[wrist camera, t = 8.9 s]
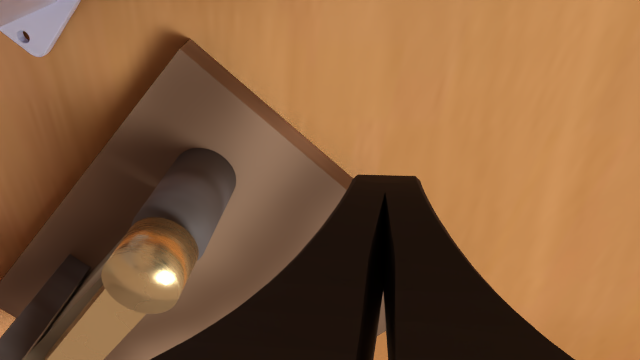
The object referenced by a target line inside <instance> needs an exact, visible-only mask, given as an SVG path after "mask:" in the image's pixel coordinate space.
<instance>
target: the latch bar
mask: <svg viewBox="0 0 640 360" xmlns="http://www.w3.org/2000/svg"><path fill="white" fill-rule="evenodd" d="M198 255H199V250H198V246H197V243H196V241H195V239H194V238H193V236H192V235H191V234H190V233H189V231H187V230H186V229H185V228H184V227H183V226H181V225H180V224H178V223H176V222H174V221H172V220H169V219H165V218H161V217H148V218H143V219H141V220H139V221H137V222H136V223H134V224H133V225H132V227H131V228H130V229H129V231H128V232H127V234H126V235H125V236H124V238H123V239H122V241H121V242H120V244H119V245H118V246H117V248H116V249H115V251H114V252H113V253H112V255H111V256H110V258H109V259H108V260H107V262H106V263H105V265H104V266H103V269H102V273H101V278H102V282H103V285H102V286H101V288H100V289H99V290H98V291H97V293H96V294H95V295H94V296H93V297H92V299H91V300H90V301H89V302H88V304H87V305H86V306H85V307H84V309H83V310H82V311H81V312H80V313H79V315H78V316H77V317H76V318H75V320H74V321H73V322H72V323H71V325H70V326H69V327H68V328H67V329H66V331H65V332H64V333H63V334H62V336H61V337H60V338H59V339H58V341H57V342H56V343H55V344H54V345H53V347H52V348H51V349H50V350H49V352H48V353H47V354H46V355H45V357H44V358H43V359H42V360H104V358H105V357H106V356H107V355H108V354H109V353H110V352H111V351H112V350H113V349H114V348H115V347H116V346H117V345H118V344H119V343H120V341H121V340H122V339H123V338H124V337H125V336H126V335H127V334H128V333H129V332H130V331H131V330H132V329H133V328H134V327H135V325H136V324H137V323H138V322H139V321H140V320H141V319H142V318H143V317H144V316H145V315H146V314H158V313H162V312H165V311H168V310H170V309H171V308H172V307H173V306H174V305H175V304H176V303H177V301H178V299H179V297H180V295H181V292H182V290H183V288H184V286H185V284H186V282H187V280H188V278H189V276H190V274H191V272H192V270H193V268H194V266H195V264H196V262H197V259H198Z"/></svg>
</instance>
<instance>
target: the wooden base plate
mask: <svg viewBox="0 0 640 360" xmlns="http://www.w3.org/2000/svg"><path fill="white" fill-rule="evenodd" d="M352 179H353V178H352V177H350V176H349V175H348V174H347V173H346V172H345V171H343V170H342V169H341V168H340V167H339V166H338V165H336V164H335V163H334V162H333V161H332V160H331V159H329V158H328V157H327V156H326V155H325V154H324V153H322V152H321V151H320V150H319V149H318V148H317V147H315V146H314V145H313V144H312V143H311V142H310V141H308V140H307V139H306V138H305V137H304V136H303V135H301V134H300V133H299V132H298V131H297V130H296V129H294V128H293V127H292V126H291V125H290V124H289V123H287V122H286V121H285V120H284V119H283V118H282V117H280V116H279V115H278V114H277V113H276V112H275V111H273V110H272V109H271V108H270V107H269V106H268V105H266V104H265V103H264V102H263V101H262V100H261V99H259V98H258V97H257V96H256V95H255V94H254V93H252V92H251V91H250V90H249V89H248V88H247V87H246V86H244V85H243V84H242V83H241V82H240V81H239V80H237V79H236V78H235V77H234V76H233V75H232V74H230V73H229V72H228V71H227V70H226V69H225V68H223V67H222V66H221V65H220V64H219V63H218V62H216V61H215V60H214V59H213V58H212V57H211V56H209V55H208V54H207V53H206V52H205V51H204V50H202V49H201V48H200V47H199V46H198V45H197V44H195V43H194V42H193V41H192V40H191V39H190V40H189V41H188V42H187V43H186V44H184V45H183V46H182V47H181V48H180V49H179V50H178V52H177V53H176V54H175V56H174V57H173V58H172V60H171V61H170V62H169V63H168V65H167V66H166V67H165V69H164V70H163V71H162V72H161V74H160V75H159V76H158V78H157V79H156V80H155V82H154V83H153V84H152V85H151V87H150V88H149V89H148V91H147V92H146V93H145V95H144V96H143V97H142V98H141V100H140V101H139V102H138V104H137V105H136V106H135V108H134V109H133V110H132V111H131V113H130V114H129V115H128V117H127V118H126V119H125V121H124V122H123V123H122V124H121V126H120V127H119V128H118V130H117V131H116V132H115V134H114V135H113V136H112V137H111V139H110V140H109V141H108V143H107V144H106V145H105V147H104V148H103V149H102V150H101V152H100V153H99V154H98V156H97V157H96V158H95V160H94V161H93V162H92V163H91V165H90V166H89V167H88V169H87V170H86V171H85V172H84V174H83V175H82V176H81V178H80V179H79V180H78V182H77V183H76V184H75V185H74V187H73V188H72V189H71V191H70V192H69V193H68V195H67V196H66V197H65V198H64V200H63V201H62V202H61V204H60V205H59V206H58V208H57V209H56V210H55V211H54V213H53V214H52V215H51V217H50V218H49V219H48V221H47V222H46V223H45V224H44V226H43V227H42V228H41V230H40V231H39V232H38V234H37V235H36V236H35V237H34V239H33V240H32V241H31V243H30V244H29V245H28V247H27V248H26V249H25V250H24V252H23V253H22V254H21V256H20V257H19V258H18V260H17V261H16V262H15V263H14V265H13V266H12V267H11V269H10V270H9V271H8V273H7V274H6V275H5V276H4V278H3V279H2V280H1V282H0V308H1V309H2V310H4V311H5V312H7V313H9V314H10V315H12V316H14V317H15V318H16V319H15V321H14V322H13V323H12V324H11V326H10V327H9V328H8V329H7V330H6V332H5V333H4V334H3V335H2V337H1V338H0V360H42V359H43V358H44V357H45V355H46V354H47V353H48V352H49V350H50V349H51V348H52V347H53V345H54V344H55V343H56V342H57V341H58V339H59V338H60V337H61V336H62V334H63V333H64V332H65V331H66V329H67V328H68V327H69V326H70V325H71V323H72V322H73V321H74V320H75V318H76V317H77V316H78V315H79V313H80V312H81V311H82V310H83V309H84V307H85V306H86V305H87V304H88V302H89V301H90V300H91V299H92V297H93V296H94V295H95V294H96V293H97V291H98V290H99V289H100V288H101V286H102V285H103V282H102V278H101V273H102V269H103V266H104V265H105V263H106V262H107V260H108V259H109V258H110V256H111V255H112V253H113V252H114V251H115V249H116V248H117V246H118V245H119V244H120V242H121V241H122V239H123V238H124V236H125V235H126V234H127V232H128V231H129V229H130V228H131V227H132V225H133V224H134V223H136V222H137V221H139V220H141V219H143V218H148V217H161V218H165V219H169V220H172V221H174V222H176V223H178V224H180V225H181V226H183V227H184V228H185V229H186V230H187V231H189V233H190V234H191V235H192V236H193V238H194V239H195V241H196V243H197V246H198V250H199V255H198V259H197V262H196V264H195V266H194V268H193V270H192V272H191V274H190V276H189V278H188V280H187V282H186V284H185V286H184V288H183V290H182V292H181V295H180V297H179V299H178V301H177V303H176V304H175V305H174V306H173V307H172V308H171V309H170V310H168V311H165V312H162V313H158V314H146V315H145V316H144V317H143V318H142V319H141V320H140V321H139V322H138V323H137V324H136V325H135V327H134V328H133V329H132V330H131V331H130V332H129V333H128V334H127V335H126V336H125V337H124V338H123V339H122V340H121V341H120V343H119V344H118V345H117V346H116V347H115V348H114V349H113V350H112V351H111V352H110V353H109V354H108V355H107V356H106V357H105V358H104V360H150V359H152V358H154V357H156V356H158V355H159V354H161V353H163V352H165V351H167V350H169V349H171V348H173V347H175V346H176V345H178V344H180V343H182V342H184V341H186V340H188V339H189V338H191V337H193V336H194V335H196V334H198V333H199V332H201V331H203V330H204V329H206V328H207V327H209V326H211V325H212V324H214V323H215V322H217V321H218V320H220V319H221V318H223V317H224V316H226V315H227V314H229V313H230V312H232V311H233V310H235V309H236V308H237V307H239V306H240V305H241V304H243V303H244V302H245V301H247V300H248V299H249V298H250V297H252V296H253V295H254V294H255V293H257V292H258V291H259V290H260V289H261V288H263V287H264V286H265V285H266V284H267V283H269V282H270V281H271V280H272V279H273V278H274V277H275V276H276V275H277V274H278V273H280V272H281V271H282V270H283V269H284V268H285V267H286V266H287V265H288V264H289V263H290V262H291V261H292V260H293V259H294V258H295V257H296V256H297V255H298V254H299V253H300V252H301V250H302V249H303V248H304V247H305V246H306V245H307V243H308V242H309V241H310V240H311V239H312V238H313V236H314V235H315V234H316V233H317V232H318V231H319V229H320V228H321V227H322V226H323V224H324V223H325V222H326V220H327V219H328V217H329V216H330V215H331V213H332V212H333V211H334V209H335V208H336V206H337V205H338V203H339V202H340V200H341V199H342V197H343V196H344V194H345V192H346V191H347V189H348V187H349V185H350V184H351V181H352ZM385 331H386V321H385V307H384V293H383V296H382V303H381V310H380V317H379V324H378V331H377V336H378V335H380V334H381V333H383V332H385Z"/></svg>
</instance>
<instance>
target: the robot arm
mask: <svg viewBox="0 0 640 360" xmlns="http://www.w3.org/2000/svg"><path fill="white" fill-rule="evenodd" d="M80 1H81V0H0V31H1V32H2V33H4V34H5V35H6V36H8V37H9V38H10V39H12V40H13V41H14V42H15V43H17V44H18V45H19V46H21V47H22V48H23V49H25V50H26V51H27V52H28V53H30V54H31V55H33V56H36V57H42V56H45V55H46V54H48V53H49V52H50V51H51V49H52V47H53V46H54V44H55V43H56V41H57V39H58V38H59V36H60V34H61V33H62V31H63V29H64V28H65V26H66V24H67V23H68V21H69V19H70V18H71V16H72V14H73V13H74V11H75V10H76V8H77V6H78V5H79V3H80ZM23 31H25V32H26V33H27V34H28V35H29V37H30V40H28V39H26V38H25V36H24V34H23ZM383 293H384V307H385V321H386V335H387V348H388V360H575V359H573V358H572V357H571V356H569V355H568V354H567V353H565V352H564V351H563V350H561V349H560V348H558V347H557V346H556V345H554V344H553V343H552V342H551V341H549V340H548V339H547V338H546V337H544V336H543V335H542V334H541V333H540V332H539V331H537V330H536V329H535V328H534V327H533V326H532V325H530V324H529V323H528V322H527V321H526V320H525V319H524V318H522V317H521V316H520V315H519V314H518V313H517V312H516V311H514V310H513V309H512V308H511V307H510V306H509V305H508V304H507V303H506V302H505V301H504V300H503V299H502V298H501V297H500V296H499V295H498V294H497V293H496V292H495V291H494V290H493V289H492V287H491V286H490V285H489V284H488V283H487V282H486V281H485V280H484V279H483V278H482V277H481V275H480V274H479V273H478V272H477V271H476V270H475V268H474V267H473V266H472V265H471V263H470V262H469V261H468V260H467V258H466V257H465V256H464V254H463V253H462V252H461V251H460V249H459V248H458V247H457V245H456V244H455V242H454V241H453V239H452V238H451V237H450V235H449V234H448V232H447V230H446V229H445V227H444V226H443V224H442V223H441V221H440V220H439V218H438V216H437V215H436V213H435V211H434V210H433V208H432V206H431V204H430V202H429V200H428V198H427V196H426V194H425V192H424V190H423V188H422V185H421V182H420V180H419V179H418V178H417V177H416V176H387V175H357V176H356V177H355V178H353V179H352V181H351V184H350V185H349V187H348V189H347V191H346V192H345V194H344V196H343V197H342V199H341V200H340V202H339V203H338V205H337V206H336V208H335V209H334V211H333V212H332V213H331V215H330V216H329V217H328V219H327V220H326V222H325V223H324V224H323V226H322V227H321V228H320V229H319V231H318V232H317V233H316V234H315V235H314V236H313V238H312V239H311V240H310V241H309V242H308V243H307V245H306V246H305V247H304V248H303V249H302V250H301V252H300V253H299V254H298V255H297V256H296V257H295V258H294V259H293V260H292V261H291V262H290V263H289V264H288V265H287V266H286V267H285V268H284V269H283V270H282V271H281V272H280V273H278V274H277V275H276V276H275V277H274V278H273V279H272V280H271V281H270V282H269V283H267V284H266V285H265V286H264V287H263V288H261V289H260V290H259V291H258V292H257V293H255V294H254V295H253V296H252V297H250V298H249V299H248V300H247V301H245V302H244V303H243V304H241V305H240V306H239V307H237V308H236V309H235V310H233V311H232V312H230V313H229V314H227V315H226V316H224V317H223V318H221V319H220V320H218V321H217V322H215V323H214V324H212V325H211V326H209V327H207V328H206V329H204V330H203V331H201V332H199V333H198V334H196V335H194V336H193V337H191V338H189V339H188V340H186V341H184V342H182V343H180V344H178V345H176V346H175V347H173V348H171V349H169V350H167V351H165V352H163V353H161V354H159V355H158V356H156V357H154V358H152V359H150V360H373V358H374V351H375V344H376V338H377V331H378V324H379V317H380V310H381V303H382V296H383Z"/></svg>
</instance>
